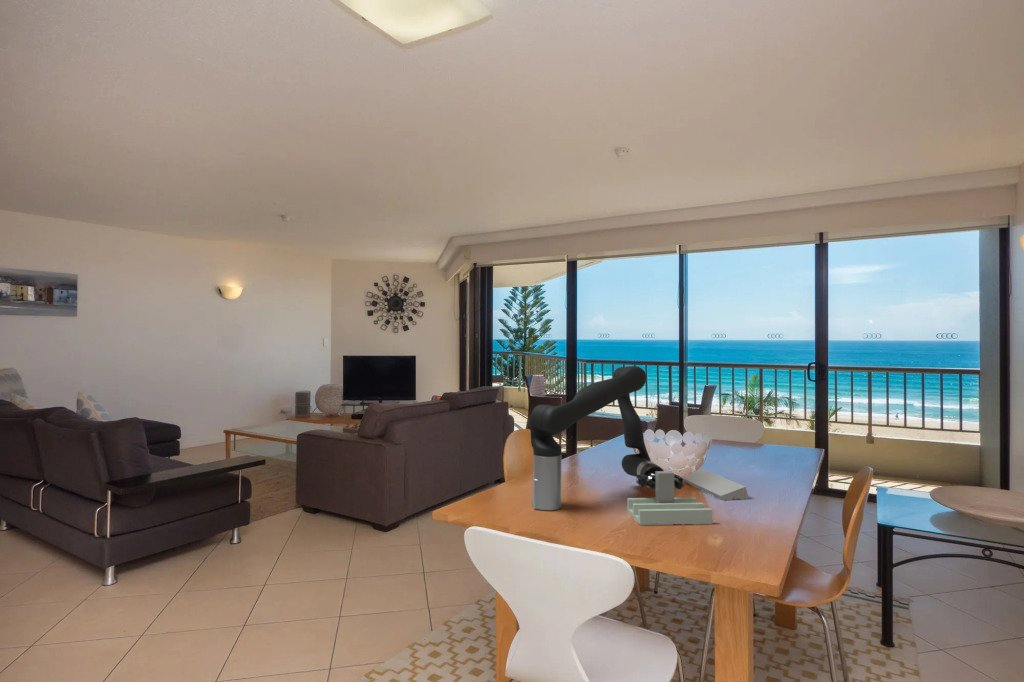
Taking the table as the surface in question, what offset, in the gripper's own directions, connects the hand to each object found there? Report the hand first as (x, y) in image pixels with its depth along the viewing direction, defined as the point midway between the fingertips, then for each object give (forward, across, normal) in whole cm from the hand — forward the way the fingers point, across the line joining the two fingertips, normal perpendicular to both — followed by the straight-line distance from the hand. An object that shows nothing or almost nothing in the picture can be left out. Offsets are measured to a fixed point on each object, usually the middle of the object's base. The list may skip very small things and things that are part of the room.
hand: (667, 486), depth 172 cm
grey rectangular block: (-2, 0, +8) cm, 8 cm away
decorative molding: (-34, +27, +10) cm, 44 cm away
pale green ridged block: (+1, 0, +9) cm, 9 cm away
